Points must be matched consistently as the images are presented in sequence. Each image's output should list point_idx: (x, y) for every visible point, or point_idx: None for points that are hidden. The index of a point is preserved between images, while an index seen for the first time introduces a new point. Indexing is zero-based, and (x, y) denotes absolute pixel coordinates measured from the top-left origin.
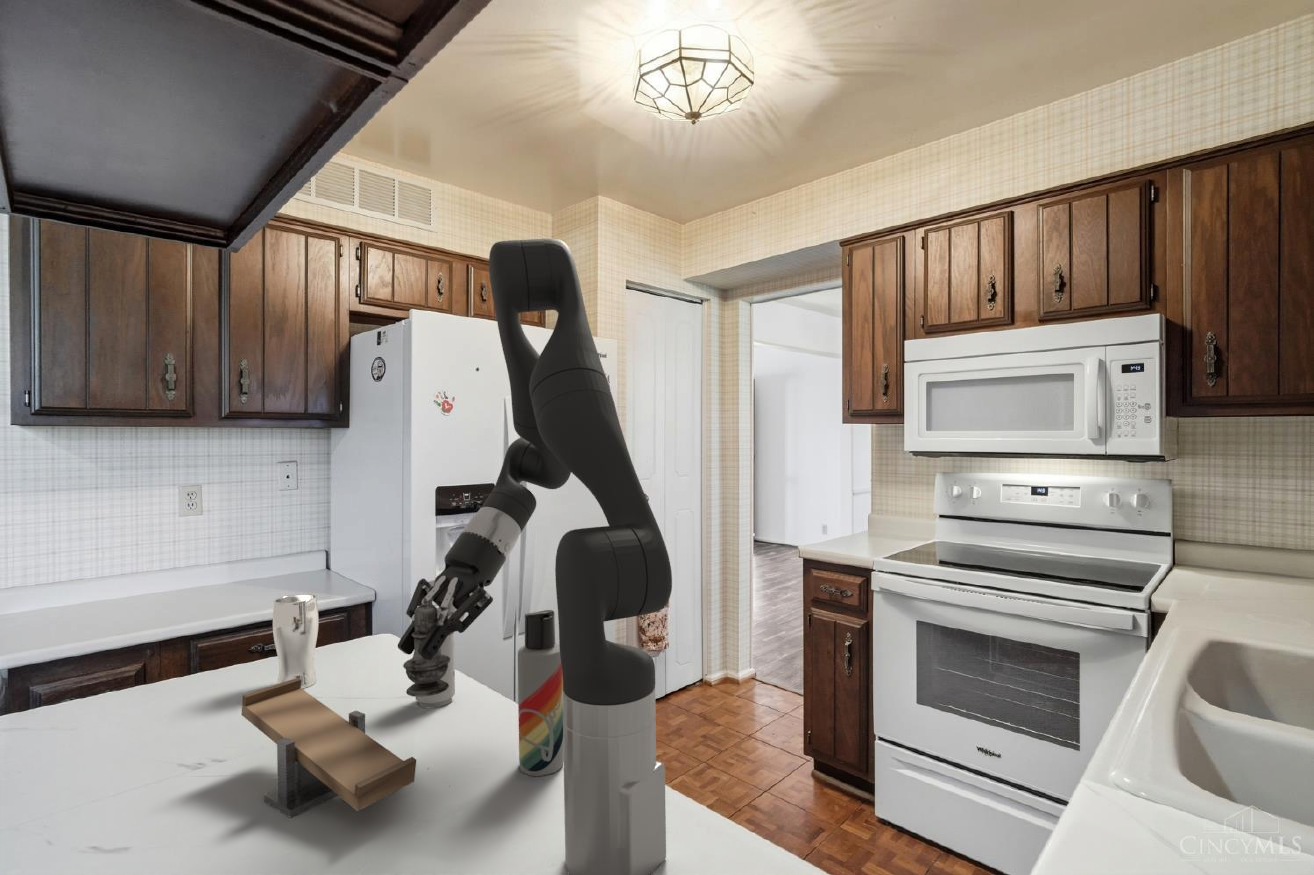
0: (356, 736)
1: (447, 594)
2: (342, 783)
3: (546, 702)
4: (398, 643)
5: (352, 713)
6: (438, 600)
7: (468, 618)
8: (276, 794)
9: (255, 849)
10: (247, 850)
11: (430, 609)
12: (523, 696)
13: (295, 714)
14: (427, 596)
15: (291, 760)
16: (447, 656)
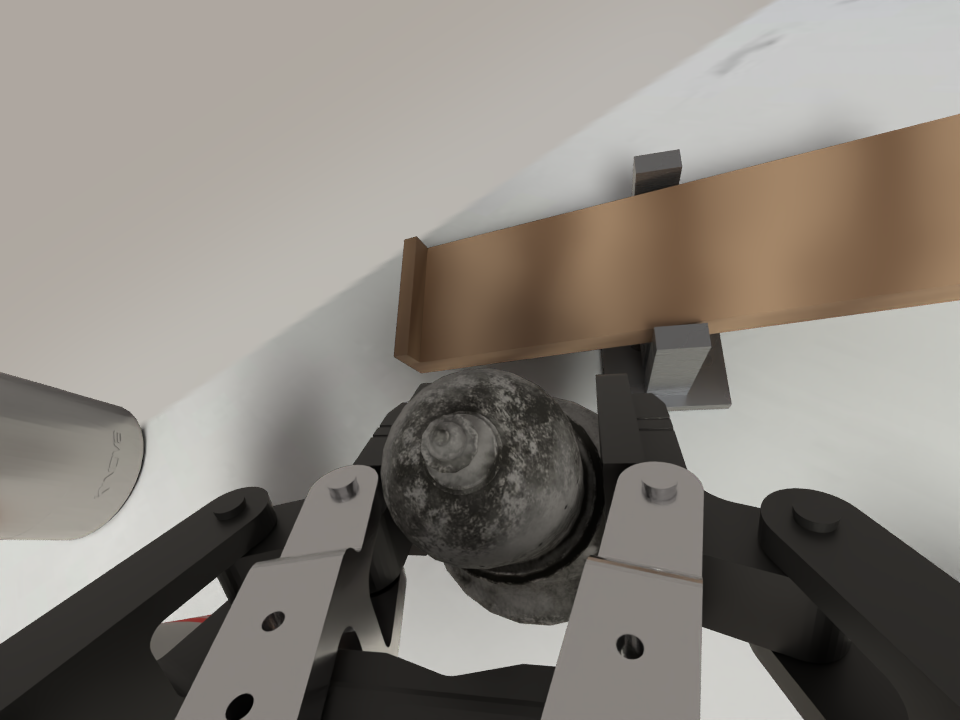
0: (600, 314)
1: (282, 694)
2: (467, 240)
3: None
4: (625, 374)
5: (694, 328)
6: (496, 680)
7: (195, 662)
8: None
9: (549, 185)
10: (557, 177)
11: (385, 446)
12: (175, 623)
13: (831, 216)
14: (662, 645)
15: (633, 195)
16: (504, 611)
